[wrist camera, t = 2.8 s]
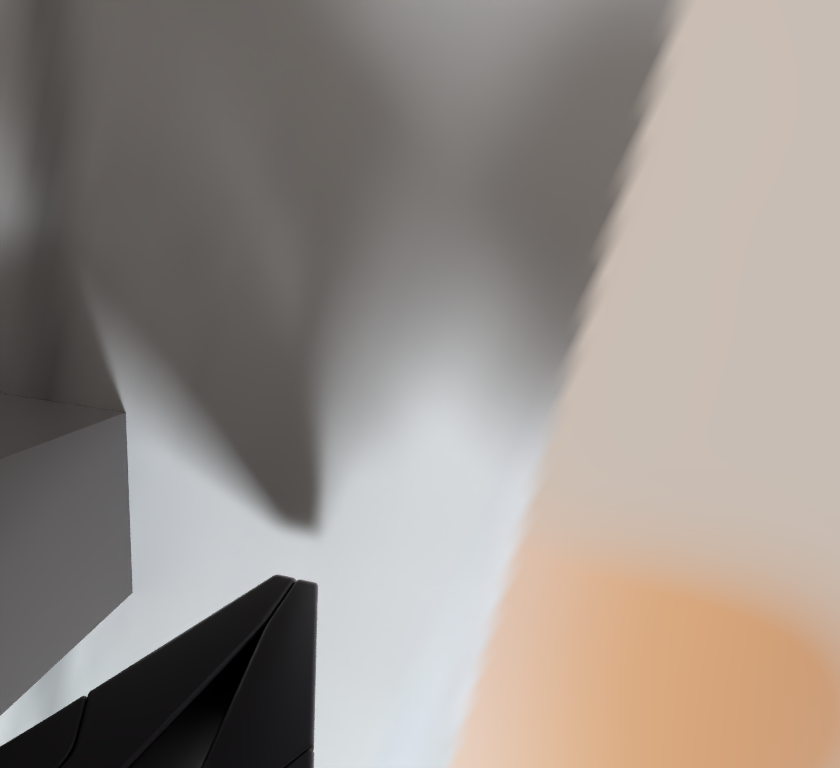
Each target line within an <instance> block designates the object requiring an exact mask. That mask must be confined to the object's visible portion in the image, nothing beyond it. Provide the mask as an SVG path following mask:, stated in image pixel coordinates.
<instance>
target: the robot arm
mask: <svg viewBox="0 0 840 768" xmlns="http://www.w3.org/2000/svg"><path fill="white" fill-rule="evenodd" d="M317 599H318V585H317V584H316V583H314V582H310V581H305V580H297V581H296V580H295V579H294V578H291V577H287V576H282V575H274V576H272V577H271V578H269V579H268V580H266V581H264V582H263V583H261V584H260V585H258V586H257V587H255V588H253V589H252V590H250V591H249V592H247V593H245V594H244V595H242V596H241V597H239V598H238V599H236V600H234V601H233V602H231V603H230V604H228V605H226V606H225V607H223V608H222V609H220V610H219V611H217V612H215V613H214V614H212V615H211V616H209V617H207V618H206V619H204V620H203V621H201V622H200V623H198V624H196V625H195V626H193V627H192V628H190V629H188V630H187V631H185V632H184V633H182V634H181V635H179V636H177V637H176V638H174V639H173V640H171V641H169V642H168V643H166V644H165V645H163V646H161V647H160V648H158V649H157V650H155V651H154V652H152V653H150V654H149V655H147V656H146V657H144V658H142V659H141V660H139V661H138V662H136V663H135V664H133V665H131V666H130V667H128V668H127V669H125V670H123V671H122V672H120V673H119V674H117V675H116V676H114V677H112V678H111V679H109V680H108V681H106V682H104V683H103V684H101V685H100V686H98V687H97V688H95V689H93V690H92V691H90V692H89V694H88V696H87V697H86V696H82V697H80V698H79V699H77V700H76V701H74V702H72V703H71V704H69V705H68V706H66V707H65V708H63V709H61V710H60V711H58V712H57V713H55V714H53V715H52V716H50V717H48V718H47V719H45V720H43V721H42V722H40V723H39V724H37V725H35V726H34V727H32V728H30V729H29V730H27V731H25V732H24V733H22V734H20V735H19V736H17V737H16V738H14V739H12V740H11V741H9V742H7V743H6V744H4V745H2V746H0V768H314V752H313V749H314V720H315V680H316V639H317Z"/></svg>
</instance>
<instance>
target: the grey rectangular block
mask: <svg viewBox="0 0 840 768" xmlns="http://www.w3.org/2000/svg"><path fill="white" fill-rule="evenodd" d="M130 594H132V567H131V541H130V514H129V488H128V462H127V435H126V412H119V411H113V410H106V409H100V408H93V407H86V406H80V405H73V404H67V403H60V402H54V401H47V400H41V399H34V398H28V397H21V396H14V395H8V394H1V393H0V715H2V714H3V713H4V712H5V711H6V710H7V709H8V708H9V707H10V706H11V705H12V704H13V703H14V702H15V701H17V700H18V699H19V698H20V697H21V696H22V695H23V694H24V693H25V692H26V691H27V690H28V689H29V688H31V687H32V686H33V685H34V684H35V683H36V682H37V681H38V680H39V679H40V678H41V677H42V676H43V675H44V674H46V673H47V672H48V671H49V670H50V669H51V668H52V667H53V666H54V665H55V664H56V663H57V662H58V661H60V660H61V659H62V658H63V657H64V656H65V655H66V654H67V653H68V652H69V651H70V650H71V649H72V648H74V647H75V646H76V645H77V644H78V643H79V642H80V641H81V640H82V639H83V638H84V637H85V636H86V635H87V634H89V633H90V632H91V631H92V630H93V629H94V628H95V627H96V626H97V625H98V624H99V623H100V622H101V621H103V620H104V619H105V618H106V617H107V616H108V615H109V614H110V613H111V612H112V611H113V610H114V609H115V608H116V607H118V606H119V605H120V604H121V603H122V602H123V601H124V600H125V599H126V598H127V597H128V596H129V595H130Z"/></svg>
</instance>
